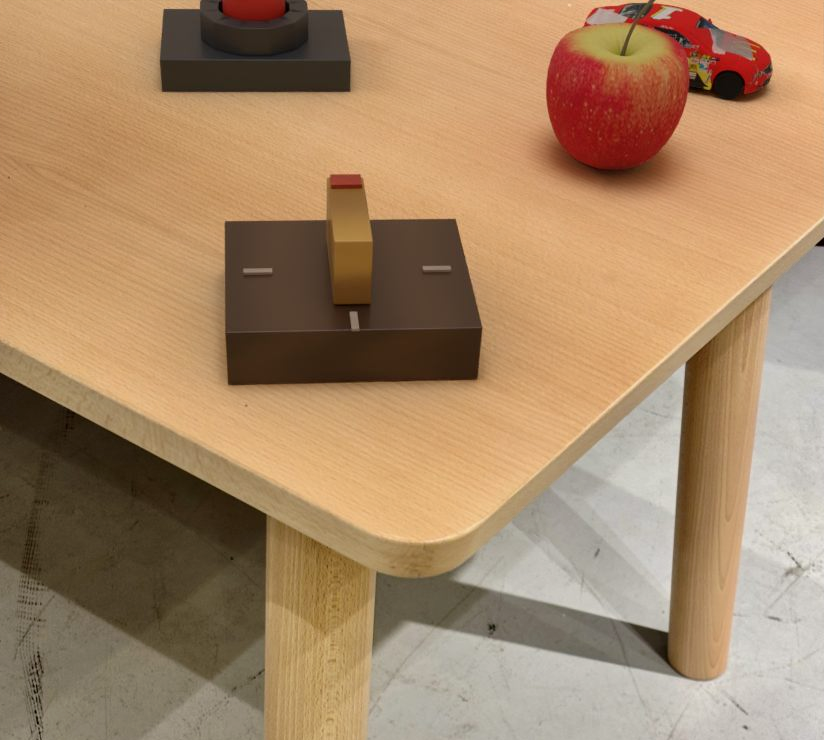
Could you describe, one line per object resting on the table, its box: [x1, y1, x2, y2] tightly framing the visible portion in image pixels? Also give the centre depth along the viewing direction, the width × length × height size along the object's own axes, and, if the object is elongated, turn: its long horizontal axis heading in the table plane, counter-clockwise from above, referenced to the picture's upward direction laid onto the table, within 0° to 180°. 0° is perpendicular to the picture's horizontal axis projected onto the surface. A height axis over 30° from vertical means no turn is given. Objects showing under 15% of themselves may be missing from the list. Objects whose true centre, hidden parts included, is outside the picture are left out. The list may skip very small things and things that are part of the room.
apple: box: [545, 0, 690, 171], centre depth 81 cm, size 8×8×10 cm
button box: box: [159, 0, 352, 93], centre depth 90 cm, size 12×8×4 cm, turn 96°
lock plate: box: [224, 218, 483, 385], centre depth 69 cm, size 12×10×3 cm
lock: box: [325, 173, 373, 305], centre depth 67 cm, size 6×2×4 cm, turn 6°
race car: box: [582, 2, 774, 100], centre depth 93 cm, size 13×5×4 cm, turn 69°
